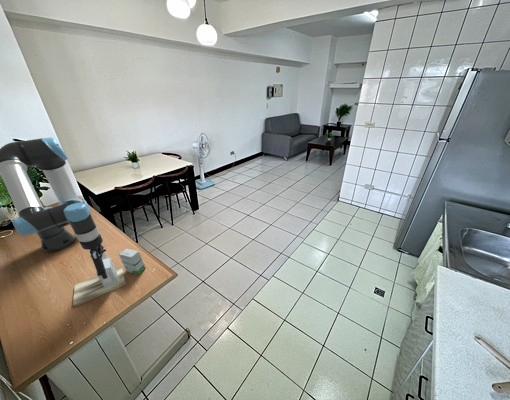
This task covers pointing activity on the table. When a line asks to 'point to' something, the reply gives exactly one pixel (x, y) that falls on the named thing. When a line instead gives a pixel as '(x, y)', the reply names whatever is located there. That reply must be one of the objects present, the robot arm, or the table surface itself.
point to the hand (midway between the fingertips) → (107, 272)
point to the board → (95, 288)
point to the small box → (109, 272)
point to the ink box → (132, 261)
